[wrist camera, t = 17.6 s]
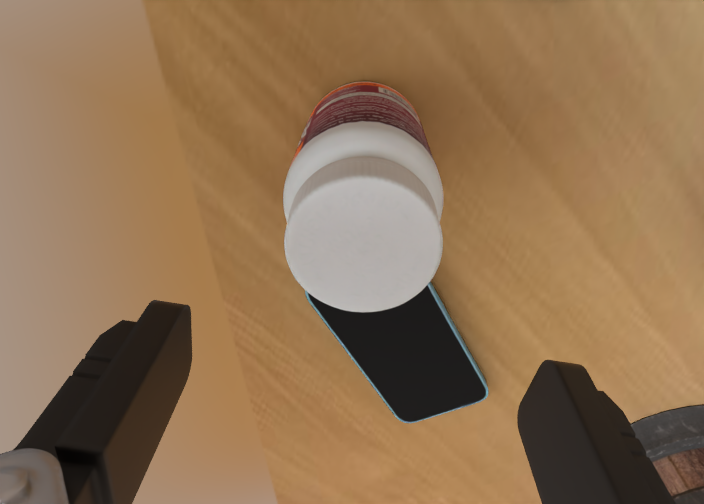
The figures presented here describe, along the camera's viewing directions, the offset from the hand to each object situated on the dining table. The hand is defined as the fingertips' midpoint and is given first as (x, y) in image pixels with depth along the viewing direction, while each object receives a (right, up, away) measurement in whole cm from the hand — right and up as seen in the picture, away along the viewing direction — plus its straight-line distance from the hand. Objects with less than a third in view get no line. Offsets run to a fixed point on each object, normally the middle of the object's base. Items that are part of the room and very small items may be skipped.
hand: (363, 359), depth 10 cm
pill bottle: (0, +9, +14) cm, 16 cm away
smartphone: (+3, -3, +21) cm, 21 cm away
